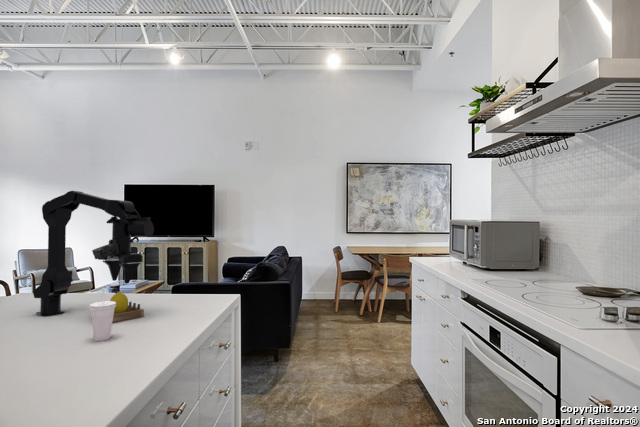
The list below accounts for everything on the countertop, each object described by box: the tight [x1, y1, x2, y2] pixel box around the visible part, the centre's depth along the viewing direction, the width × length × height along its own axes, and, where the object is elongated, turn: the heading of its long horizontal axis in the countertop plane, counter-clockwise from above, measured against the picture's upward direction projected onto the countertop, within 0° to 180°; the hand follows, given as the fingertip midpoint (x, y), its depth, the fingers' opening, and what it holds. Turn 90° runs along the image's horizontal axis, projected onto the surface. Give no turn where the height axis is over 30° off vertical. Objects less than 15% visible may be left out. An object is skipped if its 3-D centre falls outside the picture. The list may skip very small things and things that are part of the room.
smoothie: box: [88, 287, 116, 342], centre depth 98 cm, size 6×6×14 cm
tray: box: [112, 301, 145, 324], centre depth 119 cm, size 11×11×4 cm
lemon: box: [109, 291, 129, 314], centre depth 119 cm, size 6×6×8 cm
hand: (120, 281), depth 121 cm, fingers open, 9 cm apart
